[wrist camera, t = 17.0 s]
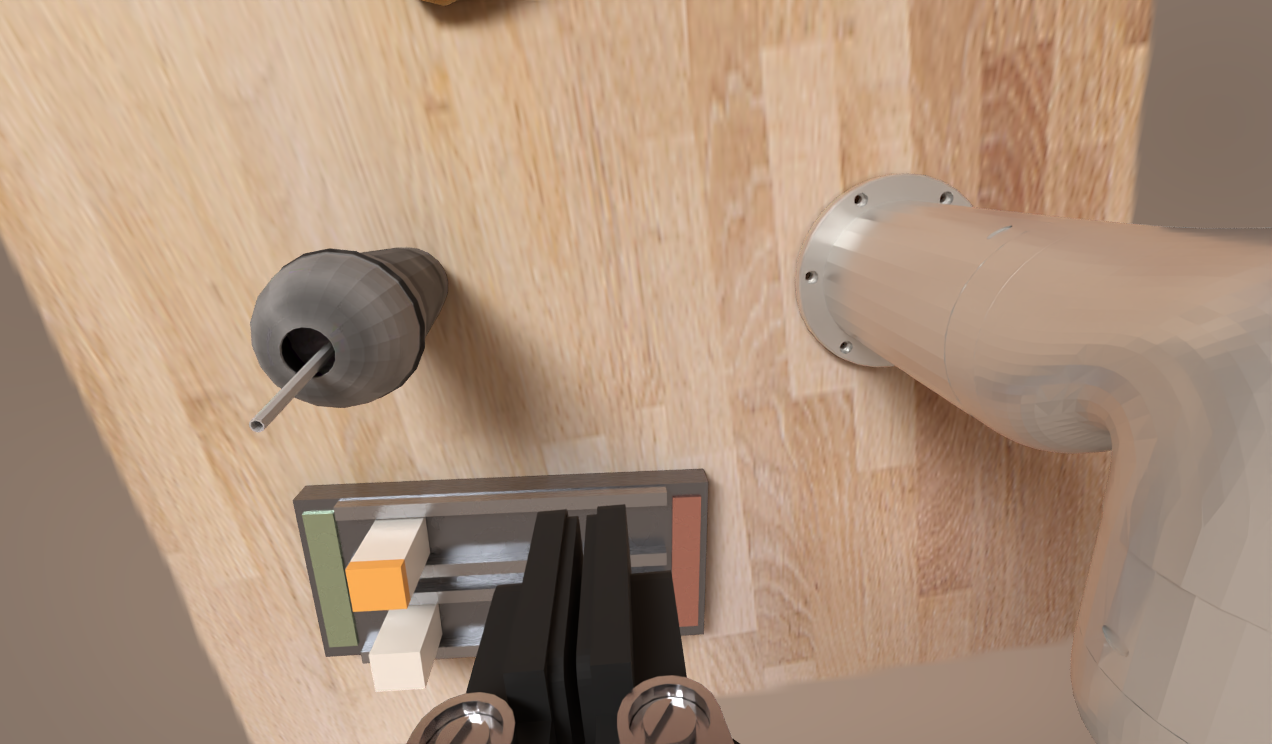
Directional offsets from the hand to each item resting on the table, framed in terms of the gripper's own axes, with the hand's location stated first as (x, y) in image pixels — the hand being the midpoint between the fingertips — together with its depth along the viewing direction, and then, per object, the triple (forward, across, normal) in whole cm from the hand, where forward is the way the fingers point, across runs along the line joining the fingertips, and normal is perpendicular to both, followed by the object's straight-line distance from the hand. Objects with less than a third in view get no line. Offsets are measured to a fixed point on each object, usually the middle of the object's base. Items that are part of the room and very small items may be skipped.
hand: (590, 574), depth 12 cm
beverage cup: (+30, +12, -1) cm, 32 cm away
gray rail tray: (+30, +9, +20) cm, 37 cm away
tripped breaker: (+28, +15, +16) cm, 35 cm away
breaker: (+27, +16, +23) cm, 39 cm away
